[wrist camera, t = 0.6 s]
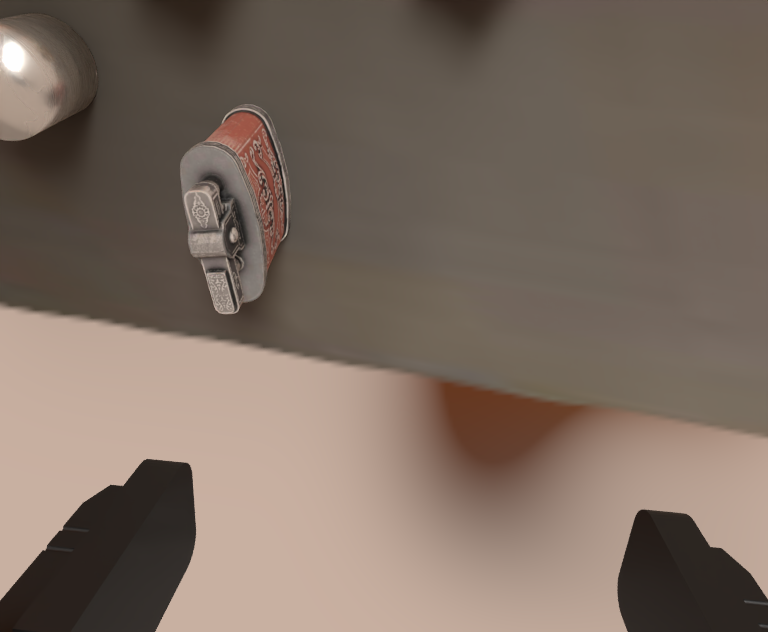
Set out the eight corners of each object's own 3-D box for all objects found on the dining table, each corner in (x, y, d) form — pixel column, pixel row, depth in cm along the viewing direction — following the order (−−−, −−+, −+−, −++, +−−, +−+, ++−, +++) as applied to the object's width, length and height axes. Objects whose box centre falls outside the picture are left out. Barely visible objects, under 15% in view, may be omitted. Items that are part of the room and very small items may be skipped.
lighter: (214, 106, 31) (142, 168, 23) (275, 102, 31) (224, 162, 23) (245, 240, 36) (194, 332, 27) (299, 237, 35) (264, 329, 27)
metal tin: (-9, 78, 31) (-74, 100, 27) (14, -9, 28) (-54, 0, 24) (82, 132, 32) (32, 160, 28) (111, 52, 30) (62, 71, 26)
